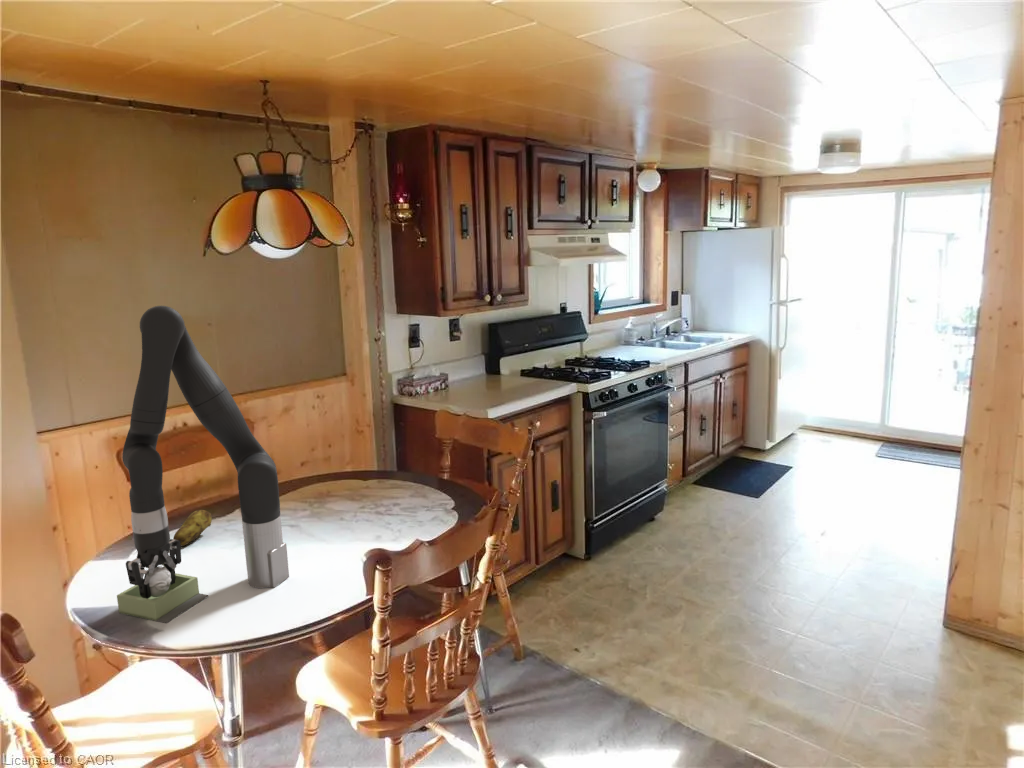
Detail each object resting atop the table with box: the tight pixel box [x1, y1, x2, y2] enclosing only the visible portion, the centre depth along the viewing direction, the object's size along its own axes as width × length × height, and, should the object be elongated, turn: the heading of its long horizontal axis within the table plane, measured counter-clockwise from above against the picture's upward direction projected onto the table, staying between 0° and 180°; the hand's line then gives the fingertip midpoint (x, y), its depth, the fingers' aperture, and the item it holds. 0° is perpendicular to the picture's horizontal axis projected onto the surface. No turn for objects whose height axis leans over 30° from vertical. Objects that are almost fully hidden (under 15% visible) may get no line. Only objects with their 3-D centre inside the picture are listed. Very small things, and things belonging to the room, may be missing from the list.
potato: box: [173, 509, 213, 547], centre depth 200 cm, size 8×13×8 cm, turn 145°
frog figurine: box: [148, 565, 172, 597], centre depth 163 cm, size 6×7×7 cm
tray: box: [116, 572, 209, 624], centre depth 164 cm, size 14×13×5 cm
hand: (158, 590), depth 164 cm, fingers closed on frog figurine, 6 cm apart
